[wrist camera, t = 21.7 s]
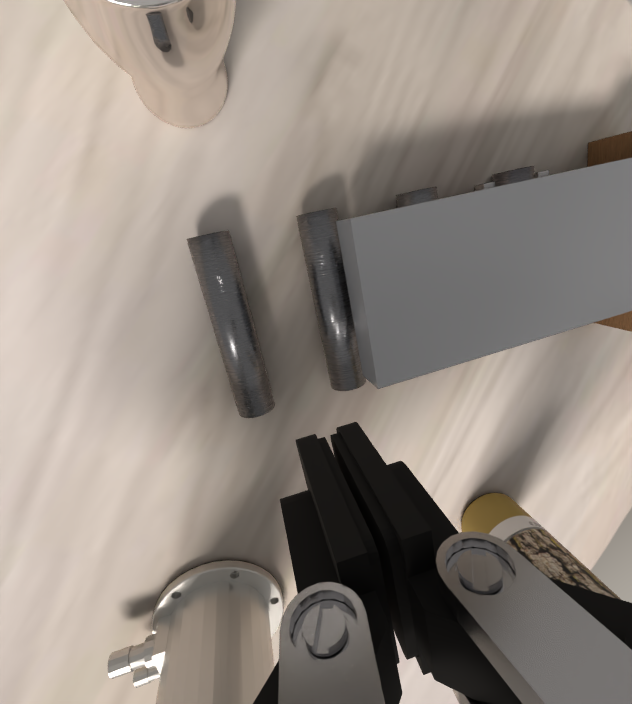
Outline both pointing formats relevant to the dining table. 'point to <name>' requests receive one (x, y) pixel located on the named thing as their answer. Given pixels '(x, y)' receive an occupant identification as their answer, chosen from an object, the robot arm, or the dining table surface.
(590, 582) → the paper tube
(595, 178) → the slab
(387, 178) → the dining table surface
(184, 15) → the beer glass
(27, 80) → the dining table surface
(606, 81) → the dining table surface
